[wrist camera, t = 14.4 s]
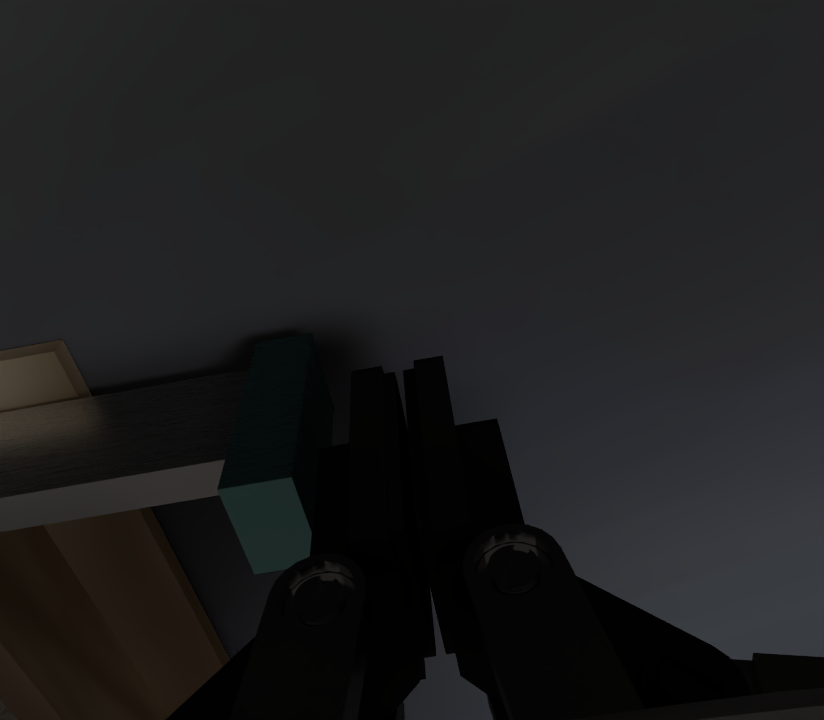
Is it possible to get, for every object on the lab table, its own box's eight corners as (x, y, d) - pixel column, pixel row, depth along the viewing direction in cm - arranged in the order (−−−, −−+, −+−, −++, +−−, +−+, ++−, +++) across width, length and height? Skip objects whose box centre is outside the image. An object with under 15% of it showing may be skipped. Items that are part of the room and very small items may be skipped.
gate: (312, 332, 15) (291, 476, 11) (334, 407, 16) (323, 563, 12) (-206, 425, 15) (-397, 593, 11) (-151, 491, 16) (-309, 666, 12)
